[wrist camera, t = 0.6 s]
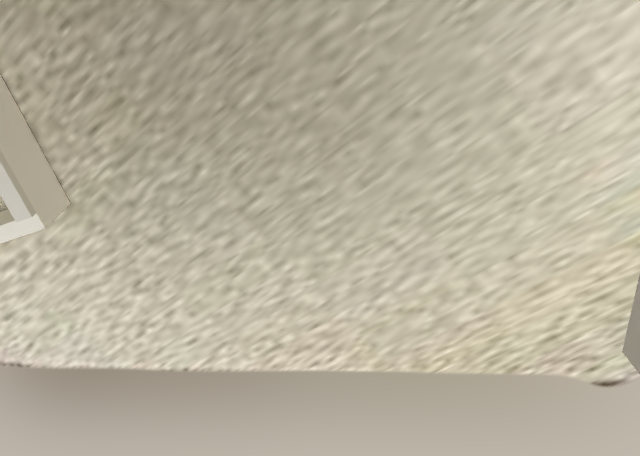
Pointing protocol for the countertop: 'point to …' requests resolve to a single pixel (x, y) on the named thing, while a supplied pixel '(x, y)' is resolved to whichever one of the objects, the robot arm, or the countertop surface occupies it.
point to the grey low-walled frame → (24, 176)
